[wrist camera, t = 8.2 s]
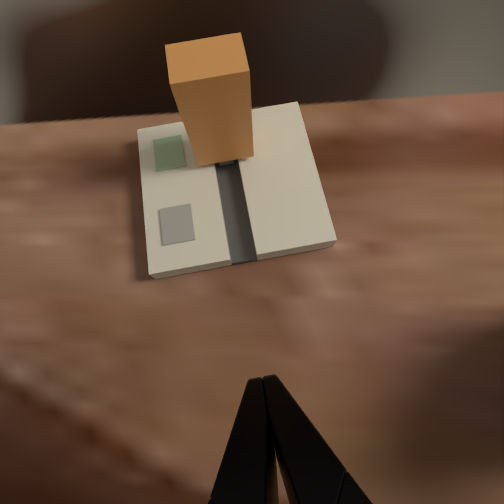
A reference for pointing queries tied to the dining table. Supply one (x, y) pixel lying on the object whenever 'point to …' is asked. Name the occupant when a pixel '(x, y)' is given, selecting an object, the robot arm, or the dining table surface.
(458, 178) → the dining table surface
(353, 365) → the dining table surface
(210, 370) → the dining table surface
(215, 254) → the switch panel
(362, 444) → the dining table surface
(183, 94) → the switch knob
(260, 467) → the robot arm
